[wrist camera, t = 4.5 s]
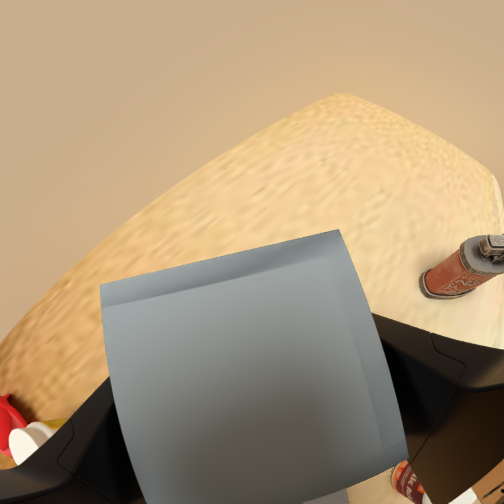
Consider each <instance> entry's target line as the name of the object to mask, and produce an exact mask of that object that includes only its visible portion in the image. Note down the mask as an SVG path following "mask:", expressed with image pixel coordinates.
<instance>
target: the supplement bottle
mask: <svg viewBox="0 0 504 504" xmlns="http://www.w3.org/2000/svg"><path fill="white" fill-rule="evenodd" d="M68 419H69V418H64V419H57V420H48V421H38V422H33V423H30V424H29V425H28V426H27V427H26V428H17V429H14V430H12V432H11V433H10V436H9V447H10V450H11V454H12V456H13V458H14V460H15V462H16V464H17V465H20V464H21V463H22V462H23V461H25V460H26V459H27V458H28V457H29V456H30V455H31V454H32V453H34V452H35V451H36V450H37V449H38V448H39V447H40V446H41V445H43V444H44V443H45V442H46V441H47V440H48V439H49V438H50V437H51V436H52V435H53V434H54V433H55V432H56V431H57V430H58V429H59V428H60V427H61V426H62V425H63V424H64V423H65V422H66V421H67V420H68Z"/></svg>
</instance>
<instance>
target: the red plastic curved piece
mask: <svg viewBox="0 0 504 504" xmlns="http://www.w3.org/2000/svg"><path fill="white" fill-rule="evenodd" d="M9 396H10V394H7V395H5V396H4V397H3V396H0V452H2V453H3V454H5V455H8V456H10V457H11V458H13V456H12V454H11V450H10V447H9V436H10V433H11V432H12V430H14V429H17V428H26V427H27V426H28V424H27V423H26V421H25V420H24V418H23V417H22V416H21V414H20V413H19V412H18V411H17V410H16V409H15V408H14V407H12V406H10V405H9V403H8V401H7V398H8V397H9ZM33 422H35V421H32V422H31V423H33ZM13 459H14V458H13Z"/></svg>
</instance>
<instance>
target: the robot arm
mask: <svg viewBox="0 0 504 504" xmlns="http://www.w3.org/2000/svg"><path fill="white" fill-rule="evenodd" d="M371 314H372V317H373V320H374V323H375V326H376V329H377V332H378V335H379V338H380V341H381V344H382V348H383V351H384V354H385V358H386V361H387V365H388V368H389V372H390V375H391V379H392V383H393V387H394V390H395V394H396V398H397V402H398V407H399V411H400V415H401V420H402V424H403V429H404V434H405V439H406V444H407V450H408V455H409V458H408V459H406V460H407V462H408V464H409V465H410V467H411V469H412V471H413V472H414V474H415V476H416V477H417V479H418V481H419V482H420V484H421V486H422V487H423V489H424V491H425V493H426V494H427V496H428V498H429V499H430V501H431V503H432V504H449V503H450V502H452V501H453V500H454V499H456V498H457V497H459V496H460V495H461V494H463V493H464V492H466V491H467V490H468V489H469V488H471V489H472V490H473V492H474V493H475V494H476V496H477V497H478V499H479V500H480V502H481V504H504V350H503V349H497V348H492V347H487V346H482V345H477V344H472V343H468V342H463V341H459V340H455V339H452V338H448V337H445V336H441V335H438V334H435V333H431V334H430V332H429V331H426V330H422V329H419V328H416V327H413V326H410V325H407V324H404V323H401V322H398V321H395V320H392V319H389V318H386V317H383V316H380V315H377V314H374V313H371ZM0 504H147V503H146V500H145V498H144V496H143V493H142V491H141V488H140V485H139V483H138V480H137V477H136V475H135V472H134V469H133V466H132V463H131V460H130V457H129V454H128V451H127V447H126V444H125V441H124V437H123V433H122V430H121V426H120V422H119V418H118V414H117V410H116V405H115V401H114V396H113V391H112V386H111V381H110V376H109V377H108V378H107V379H106V380H105V381H104V382H103V383H102V384H101V385H100V386H99V387H98V388H97V389H96V390H95V392H94V393H93V394H92V395H91V396H90V397H89V398H88V399H87V400H86V401H85V402H84V403H83V404H82V405H81V406H80V407H79V408H78V409H77V410H76V412H75V413H74V414H73V415H72V416H71V418H69V419H68V420H67V421H66V422H65V423H64V424H63V425H62V426H61V427H60V428H59V429H58V430H57V431H56V432H55V433H54V434H53V435H52V436H51V437H50V438H49V439H48V440H47V441H46V442H45V443H44V444H43V445H41V446H40V447H39V448H38V449H37V450H36V451H35V452H34V453H32V454H31V455H30V456H29V457H28V458H27V459H26V460H25V461H23V462H22V463H21V464H20V465H18V466H16V467H14V468H11V469H5V470H0Z"/></svg>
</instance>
